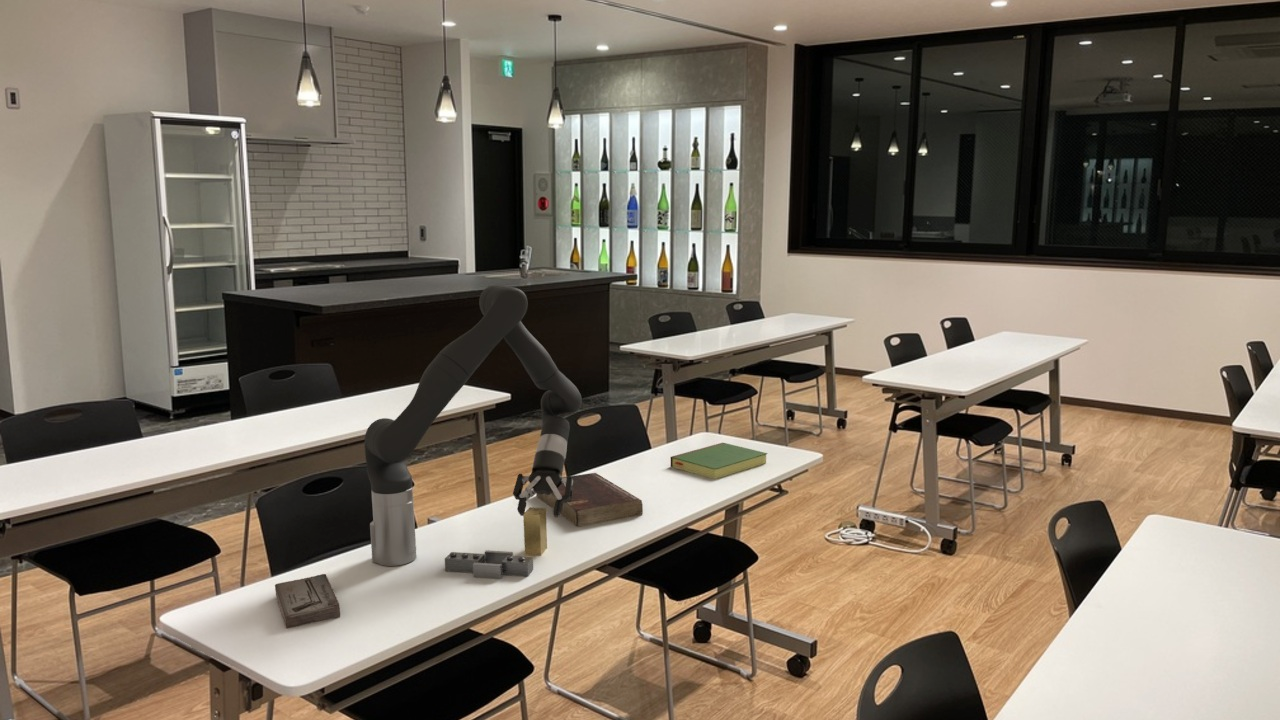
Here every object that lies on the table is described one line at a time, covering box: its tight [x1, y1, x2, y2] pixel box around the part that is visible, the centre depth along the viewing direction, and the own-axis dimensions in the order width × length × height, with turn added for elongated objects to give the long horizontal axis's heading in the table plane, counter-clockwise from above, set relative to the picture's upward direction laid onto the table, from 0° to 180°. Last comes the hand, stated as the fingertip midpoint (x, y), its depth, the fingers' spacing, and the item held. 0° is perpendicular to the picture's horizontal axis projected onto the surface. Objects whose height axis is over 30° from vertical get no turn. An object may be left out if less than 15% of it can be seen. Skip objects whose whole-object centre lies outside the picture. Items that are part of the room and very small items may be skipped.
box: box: [274, 573, 341, 629], centre depth 194 cm, size 11×17×3 cm, turn 28°
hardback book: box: [535, 472, 644, 528], centre depth 256 cm, size 29×19×5 cm, turn 27°
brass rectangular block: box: [522, 506, 548, 556], centre depth 223 cm, size 4×5×10 cm
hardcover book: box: [670, 442, 768, 480], centre depth 293 cm, size 25×19×4 cm
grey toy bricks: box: [444, 549, 534, 580], centre depth 212 cm, size 20×8×4 cm, turn 79°
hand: (538, 515), depth 225 cm, fingers open, 8 cm apart
